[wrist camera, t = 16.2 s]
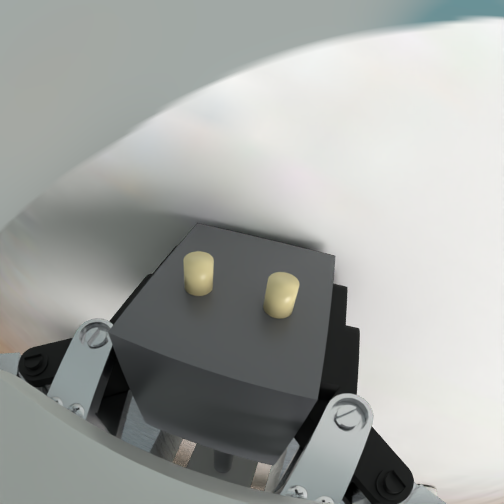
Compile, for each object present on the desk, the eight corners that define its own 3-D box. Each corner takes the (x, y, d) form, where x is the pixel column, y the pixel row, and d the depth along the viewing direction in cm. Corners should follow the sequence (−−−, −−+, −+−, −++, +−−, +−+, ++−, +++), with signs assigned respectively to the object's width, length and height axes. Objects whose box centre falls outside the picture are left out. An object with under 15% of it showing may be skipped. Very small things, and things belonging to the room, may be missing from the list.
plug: (256, 459, 21) (237, 515, 17) (205, 444, 22) (182, 498, 18) (342, 232, 9) (326, 402, 4) (199, 199, 10) (85, 323, 5)
